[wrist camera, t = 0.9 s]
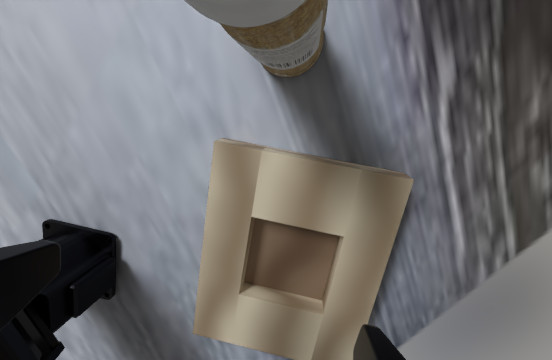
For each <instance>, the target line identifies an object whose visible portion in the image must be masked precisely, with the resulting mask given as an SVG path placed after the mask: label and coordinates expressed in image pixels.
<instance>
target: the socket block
mask: <svg viewBox="0 0 552 360" xmlns="http://www.w3.org/2000/svg"><path fill="white" fill-rule="evenodd" d="M413 182H414V180H413V179H412V178H410V177H409V176H407V175H406V174H404V173H401V172H396V171H391V170H386V169H381V168H375V167H370V166H365V165H360V164H355V163H350V162H344V161H339V160H334V159H329V158H324V157H319V156H313V155H308V154H303V153H298V152H293V151H287V150H282V149H277V148H272V147H267V146H262V145H256V144H251V143H246V142H241V141H236V140H231V139H225V138H223V139H219V140H216V141H214V148H213V157H212V166H211V175H210V184H209V193H208V202H207V211H206V220H205V229H204V238H203V247H202V256H201V265H200V274H199V283H198V292H197V301H196V310H195V319H194V328H193V334H197V335H200V336H204V337H208V338H212V339H216V340H220V341H224V342H228V343H232V344H235V345H239V346H243V347H247V348H251V349H255V350H259V351H263V352H267V353H270V354H274V355H278V356H282V357H286V358H290V359H294V360H353V350H354V346H355V343H356V340H357V337H358V334H359V332H360V329H361V327H362V325H364V324H368V321H369V318H370V315H371V312H372V308H373V305H374V302H375V299H376V296H377V293H378V290H379V287H380V284H381V281H382V278H383V274H384V271H385V268H386V265H387V262H388V259H389V256H390V253H391V250H392V247H393V244H394V240H395V237H396V234H397V231H398V228H399V225H400V222H401V219H402V216H403V213H404V210H405V207H406V203H407V200H408V197H409V194H410V191H411V188H412V185H413Z"/></svg>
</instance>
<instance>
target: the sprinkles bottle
mask: <svg viewBox="0 0 552 360" xmlns="http://www.w3.org/2000/svg"><path fill="white" fill-rule="evenodd" d="M185 1H186V2H187V3H188V4H189V5H190V6H192V7H193V8H194V9H196V10H197V11H198V12H199V13H201V14H203V15H204V16H206V17H208V18H210V19H212V20H214V21H216V22H218V23H220V24H221V25H222V27H223V28H224V29H225V31H226V32H227V33H228V34H229V35H230V36H231V37H232V38H233V39H234V40H235V41H237V42H238V43H239V44H240V45H241V46H242V47H243V48H244V49H245V50H246V51H247V52H249V53H250V54H251V55H252V56H253V57H254V58H255V59H256V60H258V61H259V62H260V63H261V64H262V65H263V66H264V68H265V69H266V70H268V71H269V72H270V73H272V74H274V75H277V76H280V77H294V76H298V75H300V74H302V73H304V72H306V71H307V70H309V69H310V68H311V67H312V65H313V64H314V63H315V62H316V61H317V59H318V57H319V55H320V53H321V51H322V47H323V38H324V32H323V28H324V26H325V21H326V13H327V6H328V0H185Z"/></svg>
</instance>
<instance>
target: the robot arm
mask: <svg viewBox="0 0 552 360" xmlns="http://www.w3.org/2000/svg"><path fill="white" fill-rule="evenodd" d="M42 227H43V239H41V240H39V241H35V242H29V243H24V244H18V245H13V246H7V247H2V248H0V360H55V359H56V358H57V357H58V356H59V354H60V353H61V352H62V351H63V349H64V348H65V347H64V345H63V344H62V343H61V341H60V342H59V341H58V340H57V338H56V337H55V336H54V334H53V333H54V332H55V331H57V330H58V329H59V328H60V327H61V326H62V325H64V324H65V323H66V322H67V321H68V320H69V319H71V318H72V317H73V318H77V317H78V316H80V315H81V314H82V313H83V312H84V311H86V310H87V309H88V308H89V307H90V306H91V305H92V304H93V303H95V302H96V301H97V300H98V299H99V298H103V299H106V300H109V299H111V298H112V297H113V296H114V295H115V283H116V237H115V236H114V235H113V234H112V233H109V232H104V231H100V230H96V229H92V228H87V227H83V226H79V225H74V224H70V223H66V222H61V221H57V220H53V219H49V220H47V221H44V222H43V224H42ZM108 238H109V240H108ZM353 360H406V359H405V358H404V357H403V356H402V354H401V353H400V352H399V351H398V350H397V349H396V347H395V346H394V345H393V344H392V343H391V341H390V340H389V339H388V338H387V337H386V335H385V334H384V333H383V332H382V331H381V330H380V329H379V328H378V327H375V326H372V325H368V324H364V325H362V327H361V329H360V332H359V334H358V337H357V340H356V343H355V346H354V350H353Z"/></svg>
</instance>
